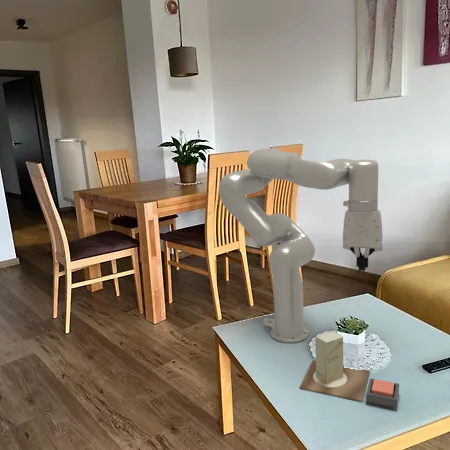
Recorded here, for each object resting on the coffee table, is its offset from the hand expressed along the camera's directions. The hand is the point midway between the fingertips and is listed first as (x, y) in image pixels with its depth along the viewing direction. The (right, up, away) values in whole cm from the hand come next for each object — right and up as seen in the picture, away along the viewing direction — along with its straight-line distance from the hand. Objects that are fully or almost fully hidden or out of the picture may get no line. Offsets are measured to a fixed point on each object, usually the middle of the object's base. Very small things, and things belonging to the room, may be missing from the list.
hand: (362, 269), depth 121 cm
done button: (+1, -30, -14) cm, 33 cm away
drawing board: (-9, -30, -5) cm, 31 cm away
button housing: (+1, -31, -14) cm, 34 cm away
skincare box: (-10, -29, -4) cm, 31 cm away
